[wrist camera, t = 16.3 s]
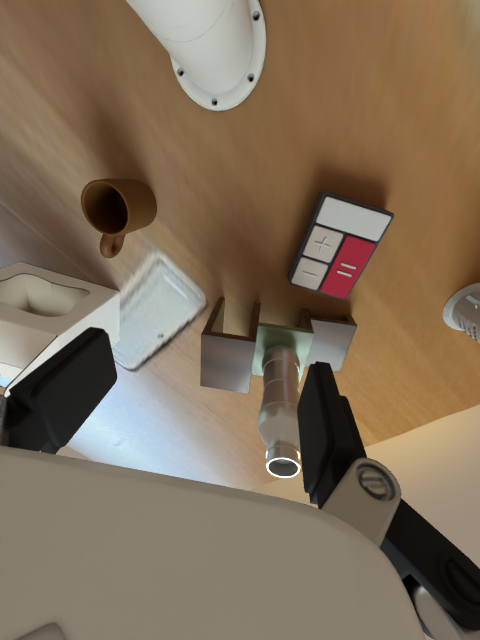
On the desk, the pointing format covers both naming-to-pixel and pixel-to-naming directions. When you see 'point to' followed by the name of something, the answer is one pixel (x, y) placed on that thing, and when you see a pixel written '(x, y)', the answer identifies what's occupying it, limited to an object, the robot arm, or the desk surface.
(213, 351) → the shelf
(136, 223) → the mug
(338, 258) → the calculator
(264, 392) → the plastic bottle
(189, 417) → the desk surface
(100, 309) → the gable box
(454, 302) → the french press
